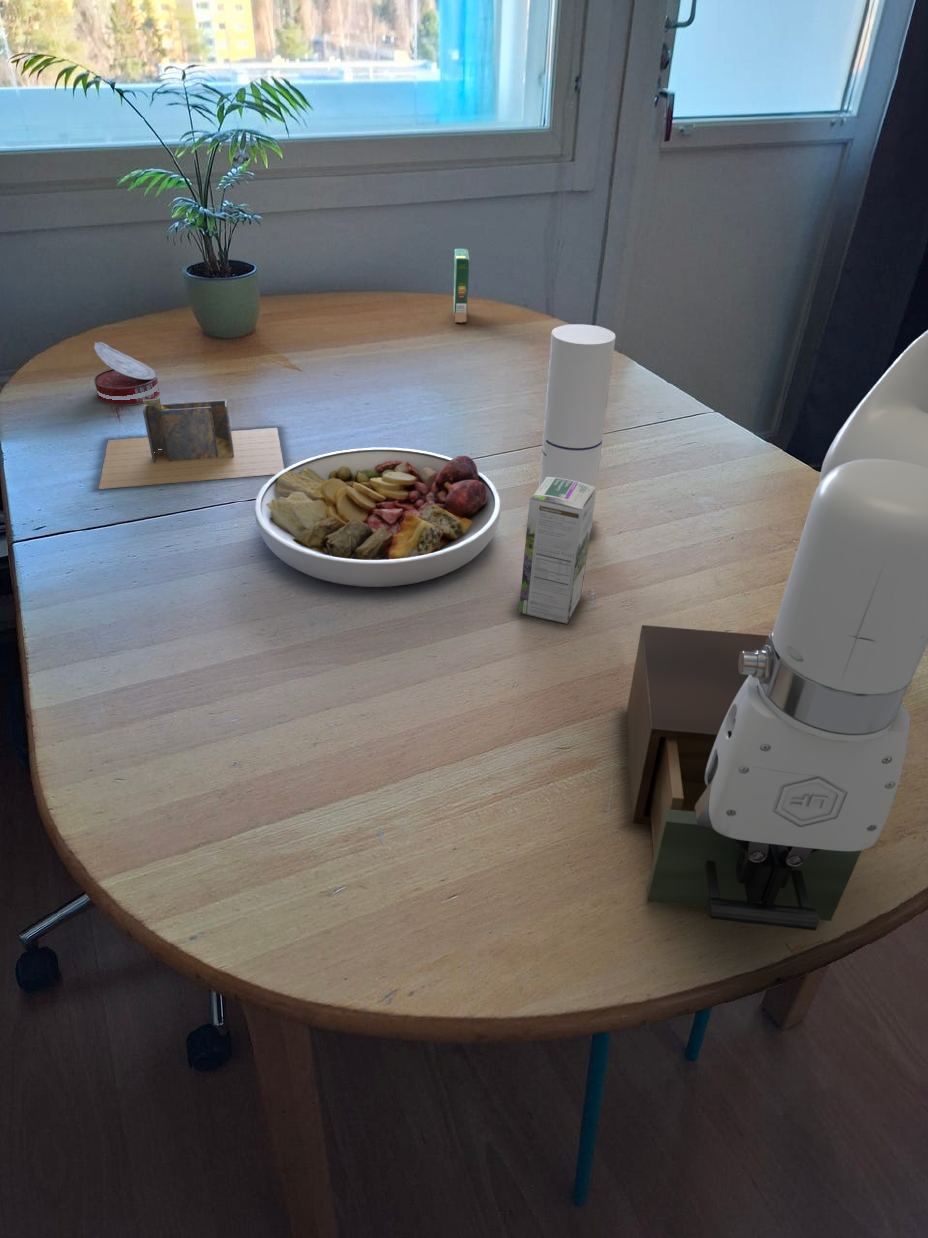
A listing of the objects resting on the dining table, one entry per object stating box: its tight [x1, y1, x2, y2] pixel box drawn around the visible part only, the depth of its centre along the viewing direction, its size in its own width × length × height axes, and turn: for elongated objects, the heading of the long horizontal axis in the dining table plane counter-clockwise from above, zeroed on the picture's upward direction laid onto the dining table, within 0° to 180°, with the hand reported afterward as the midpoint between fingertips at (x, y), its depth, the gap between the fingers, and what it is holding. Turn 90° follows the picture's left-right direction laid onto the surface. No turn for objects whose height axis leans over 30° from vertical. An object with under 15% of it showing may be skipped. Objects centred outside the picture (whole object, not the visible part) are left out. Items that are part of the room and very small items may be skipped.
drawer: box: [646, 737, 863, 931], centre depth 65 cm, size 17×13×9 cm
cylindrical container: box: [538, 323, 617, 534], centre depth 105 cm, size 7×7×25 cm
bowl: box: [254, 447, 502, 588], centre depth 108 cm, size 30×30×8 cm
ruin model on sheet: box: [98, 397, 285, 490], centre depth 124 cm, size 25×16×10 cm, turn 104°
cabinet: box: [625, 624, 768, 825], centre depth 74 cm, size 14×15×11 cm
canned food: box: [93, 341, 161, 407], centre depth 144 cm, size 11×10×10 cm
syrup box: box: [518, 477, 598, 625], centre depth 94 cm, size 6×6×14 cm
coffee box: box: [453, 248, 470, 314], centre depth 181 cm, size 8×3×13 cm, turn 2°
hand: (756, 887), depth 60 cm, fingers closed
